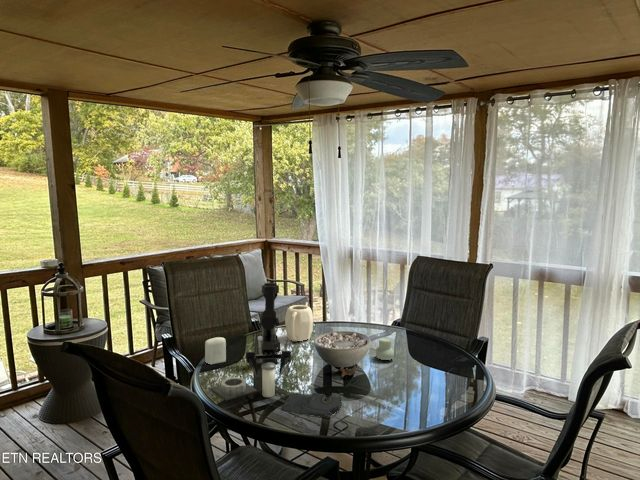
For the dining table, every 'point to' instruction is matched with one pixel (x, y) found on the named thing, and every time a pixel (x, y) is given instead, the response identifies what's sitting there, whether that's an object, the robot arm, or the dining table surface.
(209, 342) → the photo printer
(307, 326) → the watering can
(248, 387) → the segmented ring base
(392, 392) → the dining table surface
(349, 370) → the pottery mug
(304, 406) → the dark slate chunk
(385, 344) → the air freshener
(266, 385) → the cream bottle
